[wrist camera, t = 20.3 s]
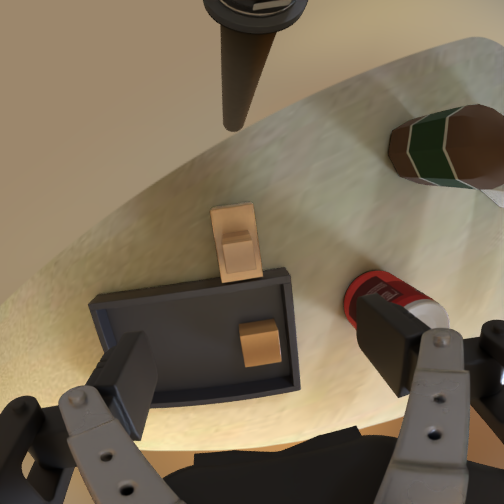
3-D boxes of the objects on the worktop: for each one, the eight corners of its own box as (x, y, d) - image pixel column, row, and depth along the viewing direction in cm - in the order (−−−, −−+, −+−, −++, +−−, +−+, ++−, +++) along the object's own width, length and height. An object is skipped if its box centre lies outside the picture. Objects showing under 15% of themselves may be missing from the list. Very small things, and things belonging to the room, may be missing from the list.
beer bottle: (430, 120, 31) (594, 95, 8) (440, 181, 33) (606, 202, 10) (379, 121, 31) (557, 76, 8) (390, 187, 33) (575, 215, 10)
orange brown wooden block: (238, 323, 34) (239, 336, 31) (274, 318, 34) (278, 330, 32) (243, 353, 35) (245, 367, 32) (277, 348, 35) (281, 361, 32)
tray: (97, 294, 33) (87, 304, 30) (284, 266, 34) (290, 275, 31) (132, 395, 36) (127, 409, 33) (296, 376, 37) (300, 390, 34)
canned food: (396, 321, 37) (443, 363, 26) (340, 332, 36) (377, 382, 26) (400, 264, 35) (456, 294, 24) (341, 272, 35) (386, 309, 24)
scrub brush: (211, 207, 32) (206, 216, 23) (250, 201, 32) (259, 208, 24) (222, 272, 33) (221, 302, 25) (259, 266, 34) (270, 295, 25)
